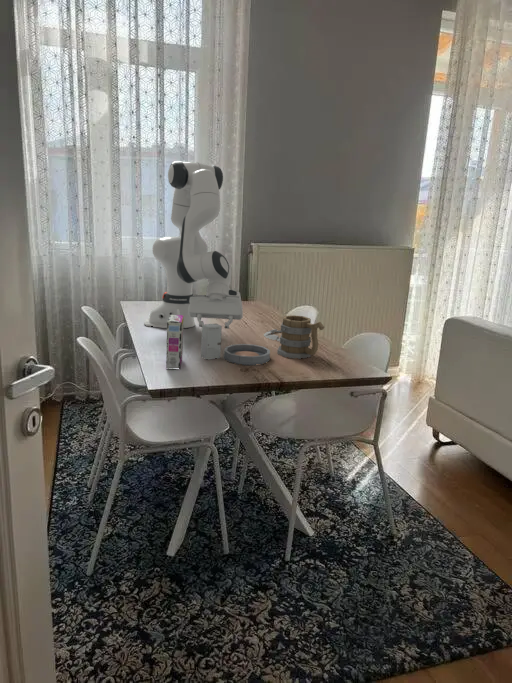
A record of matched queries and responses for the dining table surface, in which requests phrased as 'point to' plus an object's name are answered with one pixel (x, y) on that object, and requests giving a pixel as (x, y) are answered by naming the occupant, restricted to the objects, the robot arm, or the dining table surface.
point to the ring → (273, 337)
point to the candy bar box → (174, 341)
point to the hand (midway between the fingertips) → (213, 327)
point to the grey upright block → (211, 341)
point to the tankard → (298, 337)
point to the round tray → (246, 354)
